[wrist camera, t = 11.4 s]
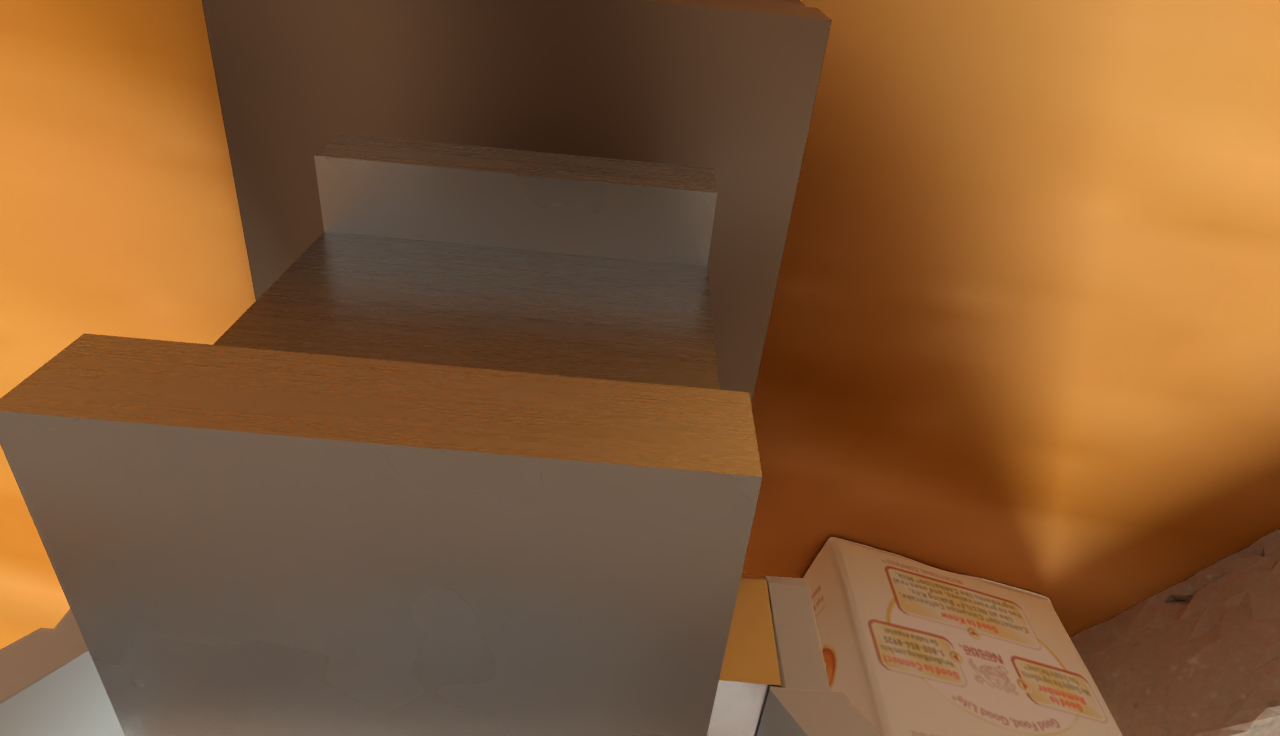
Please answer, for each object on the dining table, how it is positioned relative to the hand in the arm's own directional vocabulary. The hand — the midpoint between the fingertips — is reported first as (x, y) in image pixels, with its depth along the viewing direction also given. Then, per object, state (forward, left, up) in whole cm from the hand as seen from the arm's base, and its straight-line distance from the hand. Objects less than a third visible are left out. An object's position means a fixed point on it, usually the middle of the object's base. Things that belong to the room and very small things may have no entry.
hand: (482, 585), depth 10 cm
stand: (-1, 0, -8) cm, 8 cm away
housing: (0, 0, -4) cm, 4 cm away
